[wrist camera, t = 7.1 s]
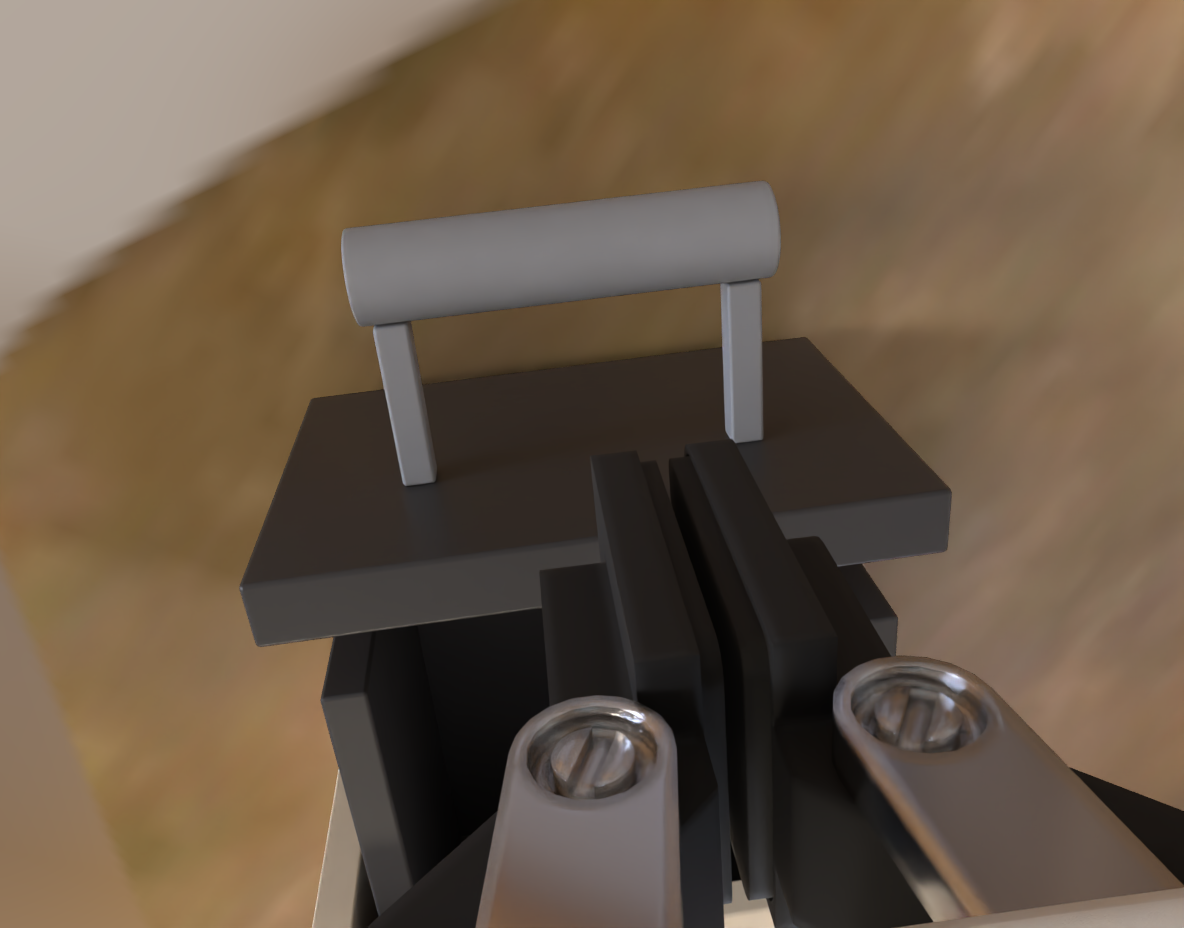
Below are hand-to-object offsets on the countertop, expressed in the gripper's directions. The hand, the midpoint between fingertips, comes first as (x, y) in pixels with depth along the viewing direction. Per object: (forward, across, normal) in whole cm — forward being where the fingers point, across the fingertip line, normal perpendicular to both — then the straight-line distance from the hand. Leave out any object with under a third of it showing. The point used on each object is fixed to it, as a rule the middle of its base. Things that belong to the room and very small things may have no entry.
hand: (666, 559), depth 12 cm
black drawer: (+11, +1, +6) cm, 13 cm away
